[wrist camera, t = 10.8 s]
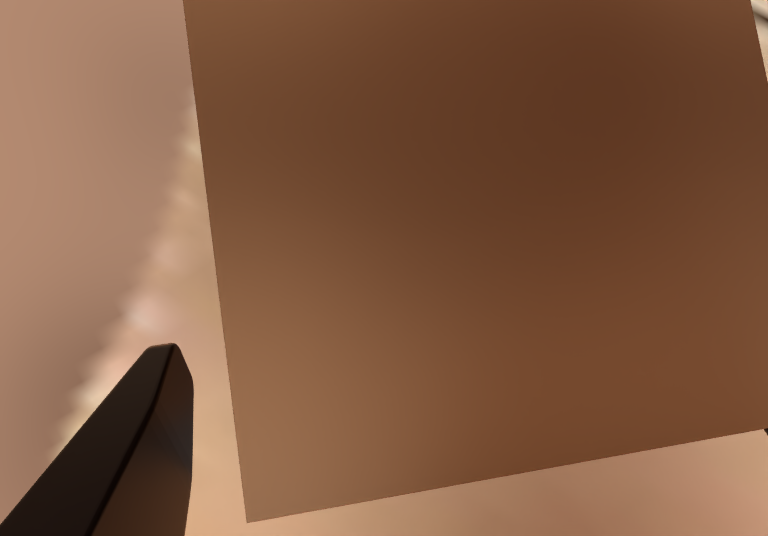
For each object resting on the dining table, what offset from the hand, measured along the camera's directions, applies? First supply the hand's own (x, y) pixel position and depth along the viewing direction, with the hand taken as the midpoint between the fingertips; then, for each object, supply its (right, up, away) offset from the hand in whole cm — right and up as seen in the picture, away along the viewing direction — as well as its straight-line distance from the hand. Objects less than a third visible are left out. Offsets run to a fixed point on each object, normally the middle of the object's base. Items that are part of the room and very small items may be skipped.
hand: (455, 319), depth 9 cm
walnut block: (-1, +1, +9) cm, 9 cm away
